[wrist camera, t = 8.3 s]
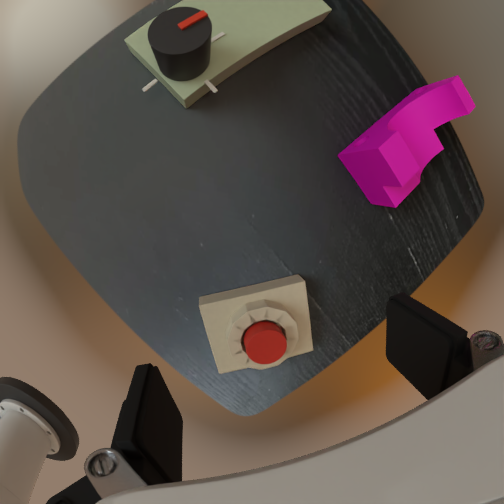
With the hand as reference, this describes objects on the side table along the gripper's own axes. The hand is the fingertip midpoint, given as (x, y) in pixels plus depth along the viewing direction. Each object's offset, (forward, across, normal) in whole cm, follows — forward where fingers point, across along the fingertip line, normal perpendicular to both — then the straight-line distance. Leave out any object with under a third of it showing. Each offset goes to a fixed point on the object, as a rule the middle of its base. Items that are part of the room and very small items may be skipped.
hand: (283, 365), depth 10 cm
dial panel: (+18, -4, -22) cm, 28 cm away
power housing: (+18, -1, +7) cm, 19 cm away
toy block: (+18, -20, -8) cm, 28 cm away
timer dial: (+15, +1, -18) cm, 23 cm away
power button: (+14, -1, +7) cm, 16 cm away
